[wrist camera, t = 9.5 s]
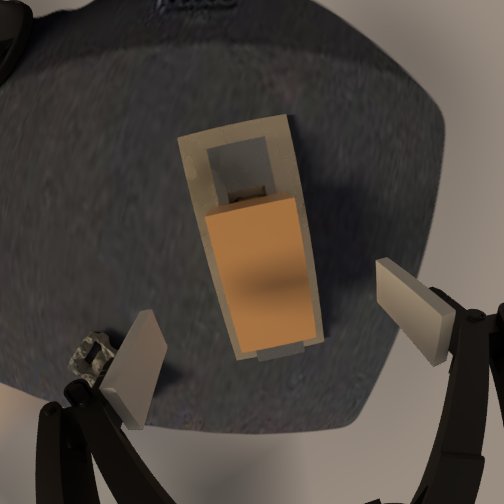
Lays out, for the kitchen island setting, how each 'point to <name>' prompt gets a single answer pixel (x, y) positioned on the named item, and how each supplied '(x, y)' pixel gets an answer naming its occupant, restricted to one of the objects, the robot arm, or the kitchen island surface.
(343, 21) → the kitchen island surface
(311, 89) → the kitchen island surface
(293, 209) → the orange toy brick
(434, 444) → the robot arm
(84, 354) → the egg carton
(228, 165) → the beige grey stepped block
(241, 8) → the kitchen island surface
